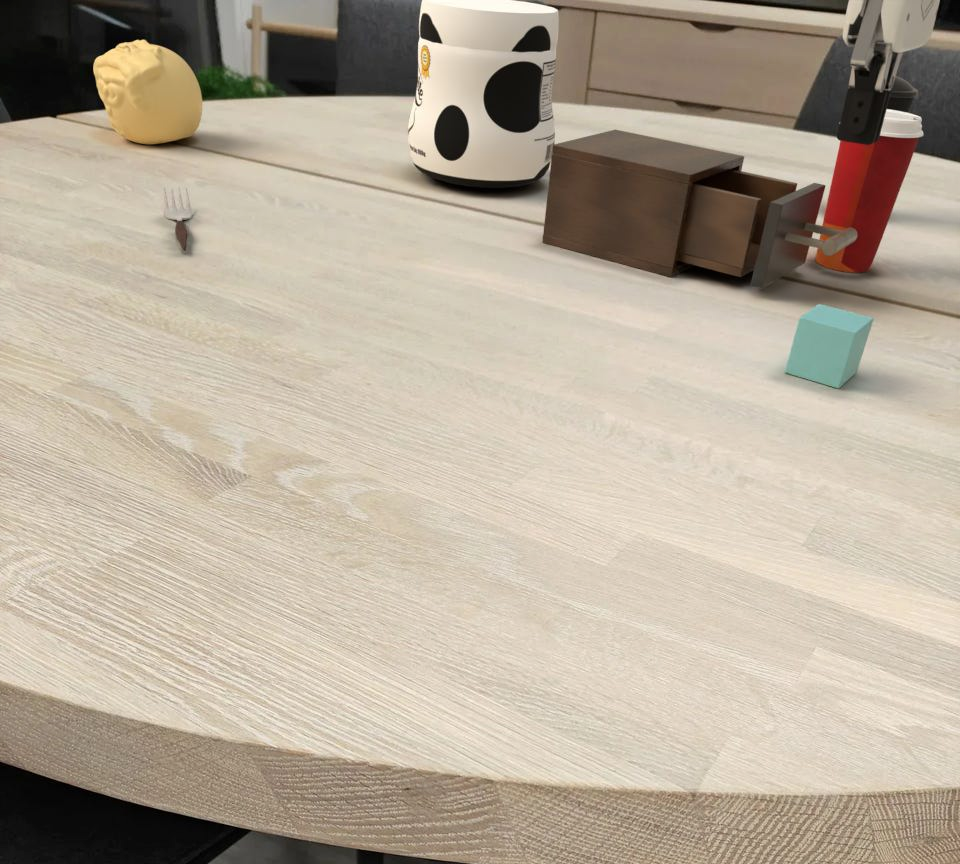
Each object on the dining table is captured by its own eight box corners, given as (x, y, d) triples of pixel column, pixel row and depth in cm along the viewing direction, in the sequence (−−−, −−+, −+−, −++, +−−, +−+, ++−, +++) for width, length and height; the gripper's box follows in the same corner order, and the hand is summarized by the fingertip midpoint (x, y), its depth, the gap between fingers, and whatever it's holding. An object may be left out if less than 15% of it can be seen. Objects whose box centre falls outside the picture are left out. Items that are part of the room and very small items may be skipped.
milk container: (388, 163, 124) (391, -9, 113) (516, 162, 129) (531, -2, 118) (434, 200, 111) (442, 10, 100) (573, 197, 117) (595, 17, 106)
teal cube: (803, 357, 80) (819, 303, 78) (856, 372, 79) (874, 317, 76) (784, 372, 77) (799, 316, 75) (838, 389, 76) (856, 332, 73)
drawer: (853, 275, 97) (876, 195, 92) (813, 302, 89) (837, 217, 85) (682, 233, 104) (696, 157, 100) (632, 254, 97) (645, 174, 92)
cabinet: (724, 251, 103) (744, 156, 98) (671, 277, 95) (690, 174, 89) (602, 220, 110) (615, 129, 104) (542, 242, 101) (552, 144, 95)
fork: (169, 256, 89) (167, 233, 88) (164, 207, 101) (161, 186, 100) (199, 256, 90) (197, 233, 88) (190, 208, 102) (188, 187, 100)
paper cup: (884, 262, 105) (931, 114, 96) (875, 281, 99) (924, 125, 90) (810, 247, 107) (849, 102, 98) (797, 265, 101) (837, 112, 93)
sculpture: (88, 133, 124) (73, 33, 117) (176, 127, 131) (166, 31, 124) (132, 153, 118) (119, 48, 111) (222, 145, 124) (214, 45, 118)
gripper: (949, -128, 69) (873, 161, 80) (997, -119, 79) (923, 137, 90) (843, -132, 72) (784, 146, 83) (902, -123, 82) (842, 124, 93)
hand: (856, 140), depth 86 cm, fingers closed
